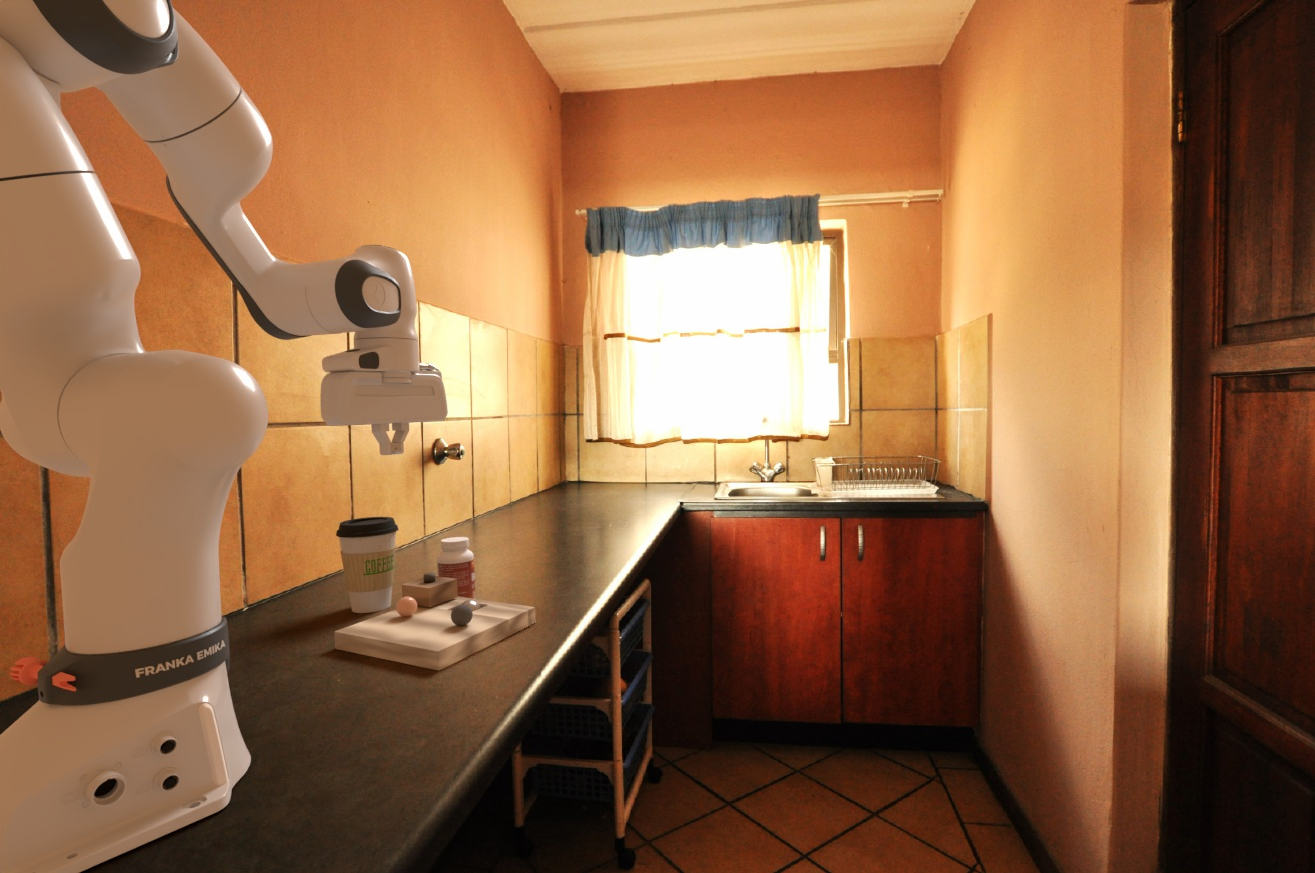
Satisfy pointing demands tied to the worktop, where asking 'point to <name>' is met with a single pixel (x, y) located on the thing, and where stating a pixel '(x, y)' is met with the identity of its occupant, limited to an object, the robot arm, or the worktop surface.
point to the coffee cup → (368, 561)
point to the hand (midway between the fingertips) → (392, 454)
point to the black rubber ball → (461, 615)
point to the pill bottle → (458, 565)
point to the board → (434, 633)
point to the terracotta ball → (406, 606)
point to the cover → (431, 590)
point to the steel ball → (472, 604)
